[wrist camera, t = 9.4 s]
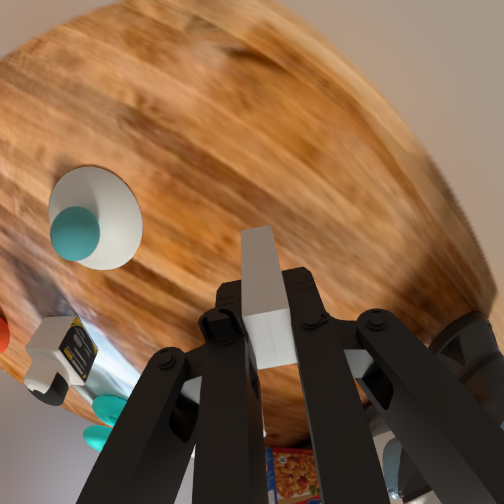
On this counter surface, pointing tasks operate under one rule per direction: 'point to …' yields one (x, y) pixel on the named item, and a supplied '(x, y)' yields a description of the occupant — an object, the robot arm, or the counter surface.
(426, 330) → the counter surface
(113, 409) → the donuts
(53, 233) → the ball
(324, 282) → the counter surface
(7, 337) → the clementine
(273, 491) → the pasta box
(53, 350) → the medicine bottle
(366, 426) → the robot arm
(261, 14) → the counter surface
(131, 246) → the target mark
